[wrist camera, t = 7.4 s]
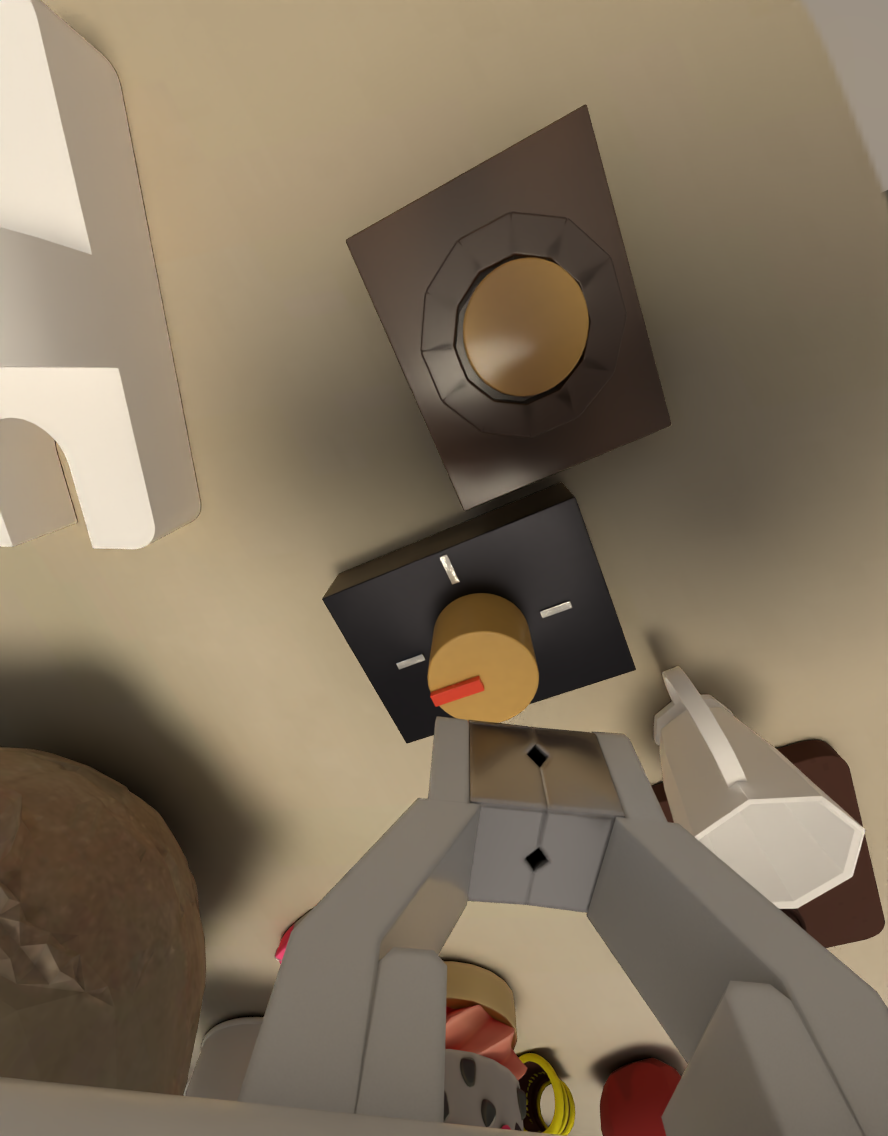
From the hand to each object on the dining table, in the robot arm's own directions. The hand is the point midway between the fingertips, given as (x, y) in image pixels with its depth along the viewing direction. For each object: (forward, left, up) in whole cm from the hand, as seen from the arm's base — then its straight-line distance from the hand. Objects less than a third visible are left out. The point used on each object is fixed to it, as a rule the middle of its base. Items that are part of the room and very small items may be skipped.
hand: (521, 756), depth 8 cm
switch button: (-4, -6, -13) cm, 15 cm away
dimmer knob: (+2, +5, -13) cm, 14 cm away
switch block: (-4, -6, -16) cm, 18 cm away
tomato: (+6, +51, -17) cm, 54 cm away
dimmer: (+2, +5, -16) cm, 17 cm away
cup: (-6, +15, -17) cm, 23 cm away
